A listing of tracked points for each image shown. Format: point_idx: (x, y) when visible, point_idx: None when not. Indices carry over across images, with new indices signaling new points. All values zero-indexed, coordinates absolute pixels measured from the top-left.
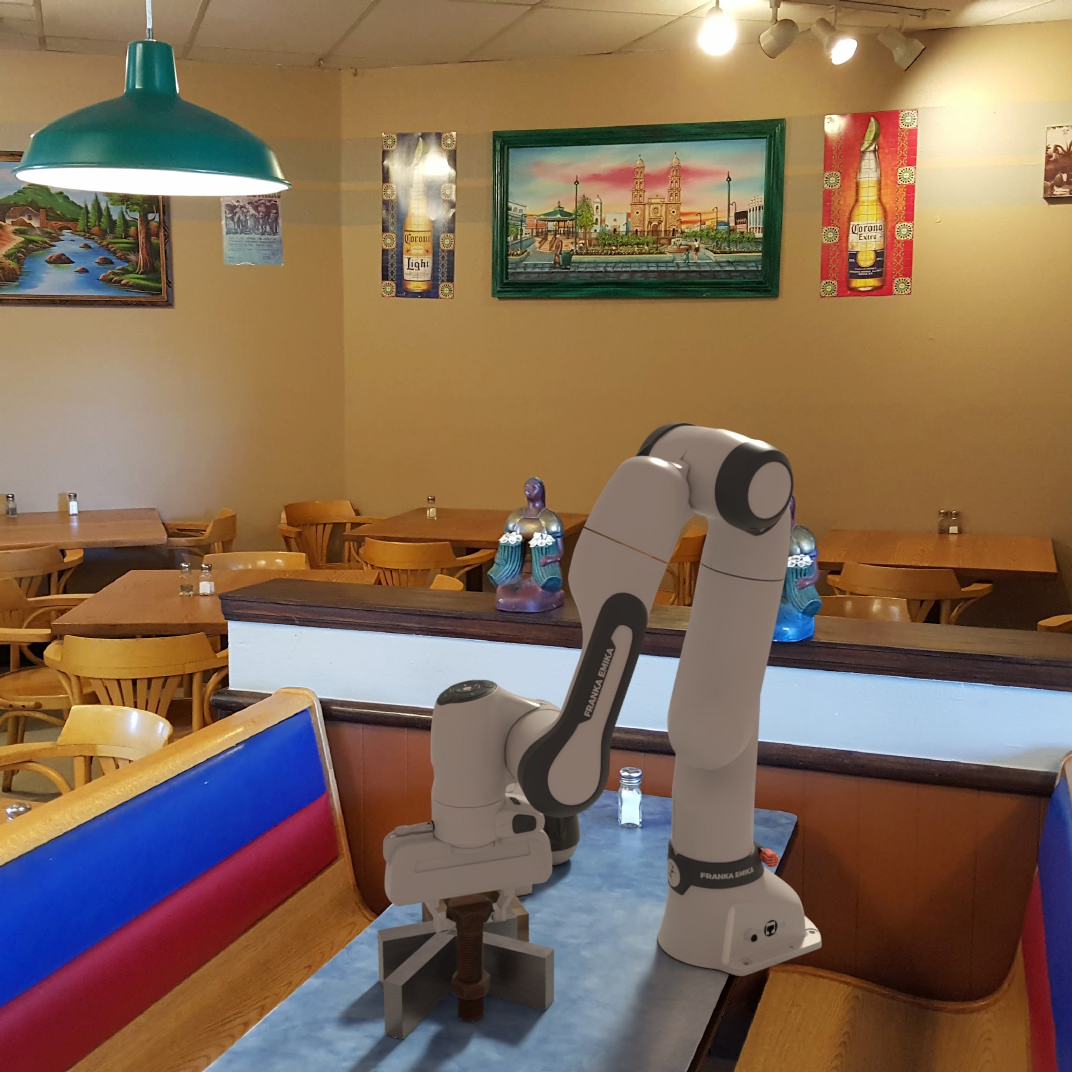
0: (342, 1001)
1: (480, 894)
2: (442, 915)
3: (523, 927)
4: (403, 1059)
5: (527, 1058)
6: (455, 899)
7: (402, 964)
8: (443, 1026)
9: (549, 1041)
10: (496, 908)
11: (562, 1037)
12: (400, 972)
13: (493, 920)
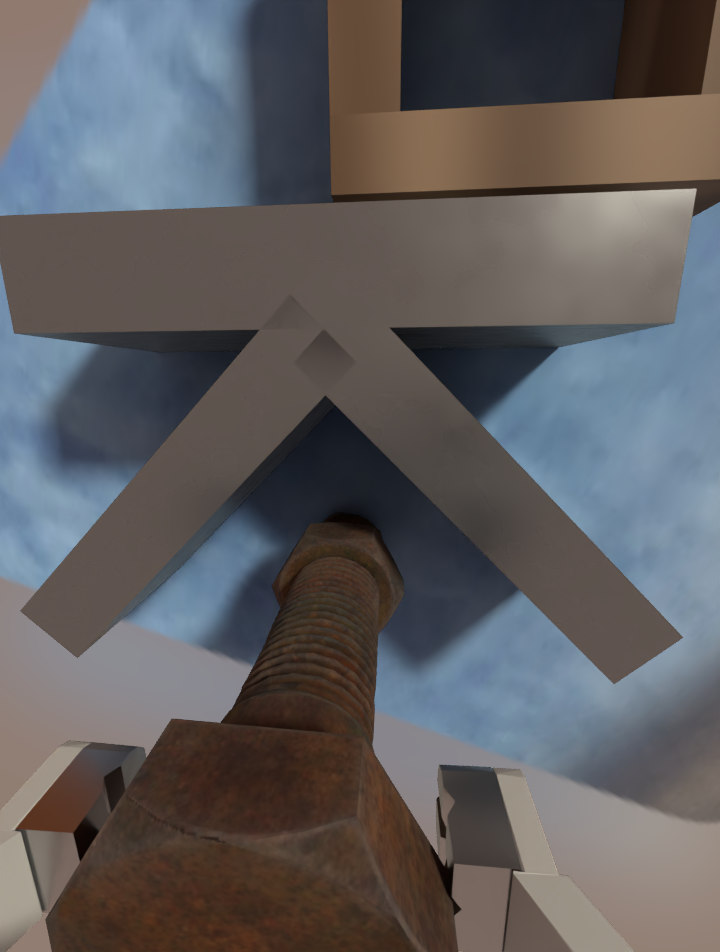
0: (48, 357)
1: (382, 916)
2: (52, 867)
3: None
4: (174, 626)
5: (421, 712)
6: (117, 897)
7: (86, 538)
8: (278, 549)
9: (490, 681)
10: (474, 930)
11: (524, 679)
12: (78, 582)
13: (438, 815)
